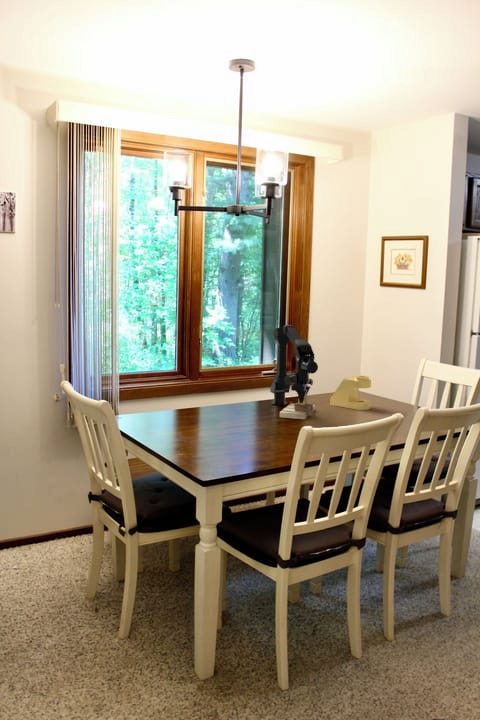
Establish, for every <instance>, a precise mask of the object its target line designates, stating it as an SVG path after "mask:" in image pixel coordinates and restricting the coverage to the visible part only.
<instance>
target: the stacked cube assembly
mask: <svg viewBox="0 0 480 720" xmlns="http://www.w3.org/2000/svg"><path fill="white" fill-rule="evenodd" d="M297 397H298V396H297ZM294 404H295V410H297V411H307V416H308V417H311V416H312V415H314V411H313V405H314V403H307V396H306V395H305V397H304V400H303V402H302V403H300V401H299V397H298V398H297V402H296V403H294Z"/></svg>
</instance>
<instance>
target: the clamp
mask: <svg viewBox="0 0 480 720" xmlns="http://www.w3.org/2000/svg"><path fill="white" fill-rule="evenodd" d="M370 388H372V379H370V377H369V376H367V375H355V376H351V377H346V378H343V379H342V381H341V383H340V384H339V385H338V387H337V388H336V389H335V391H334V392H333V394H332V395H331V397H330V399H329V400H330V401H329V402H330V403H329V405H330V406H334V405H335V406H336V407H341V408H346V409H351V410H358V411H367V410H371V401H370V400H368V399H367V400H366V399H363V398H362V399H361V398H359V389H370Z"/></svg>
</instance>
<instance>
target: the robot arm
mask: <svg viewBox="0 0 480 720" xmlns="http://www.w3.org/2000/svg"><path fill="white" fill-rule="evenodd" d="M272 332H273V333H272V334H273V340H274V342H275V343H276V374H275V375H274V377H273V381H272V383H271V385H270V388H269V390H270V391H269V392H270V393H272V394H274V395H273V396H274V397H273V402H272V403H271V405H273V406H286V405H287V404H288V402H287V401H286V393H288V394H289V393H290V390H291V391H294V392H296V393H297V397H299V401H300V403H302V402H303V400H304V397H305V395H306V397H307V396H308V394H309V392H310V389H311V388H312V387H311V386H313V385H314V380H313V379H312V378H310V377H309V376H310V374H315V373H317V371H318V368H319V366H318V363H317V362H316V361H315V353H314V349H313V348H312V346H311V344H310V343H309V342H308V341H306V340H304V339H303V338H302V336H300V334H299V333H298V331H297V330H296V328H295V326H294V325H292V324H285V325H283V326H281V327H276V328H275V329H274V330H273V331H272ZM289 342H291V343H292V345H293V347H294V348H293V352H294V354H295V356H296V357H295V360H296V372H294V374H291V375H288V374H287V354H288V353H287V351H288V344H289ZM292 383H293V384H292ZM291 384H292V385H291ZM309 385H310V386H309Z"/></svg>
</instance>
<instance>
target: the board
mask: <svg viewBox="0 0 480 720" xmlns="http://www.w3.org/2000/svg"><path fill="white" fill-rule="evenodd" d="M314 411H315V404H313V412H314ZM308 417H309V416H307V411H297V410H295V403H289V404H288V405H287V406H286V407H284V408H283V409H282V410H281V411H279V418H283V419H286V418H287V419H294V420H295V419H296V420H298V419H299V420H306V418H308Z"/></svg>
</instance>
